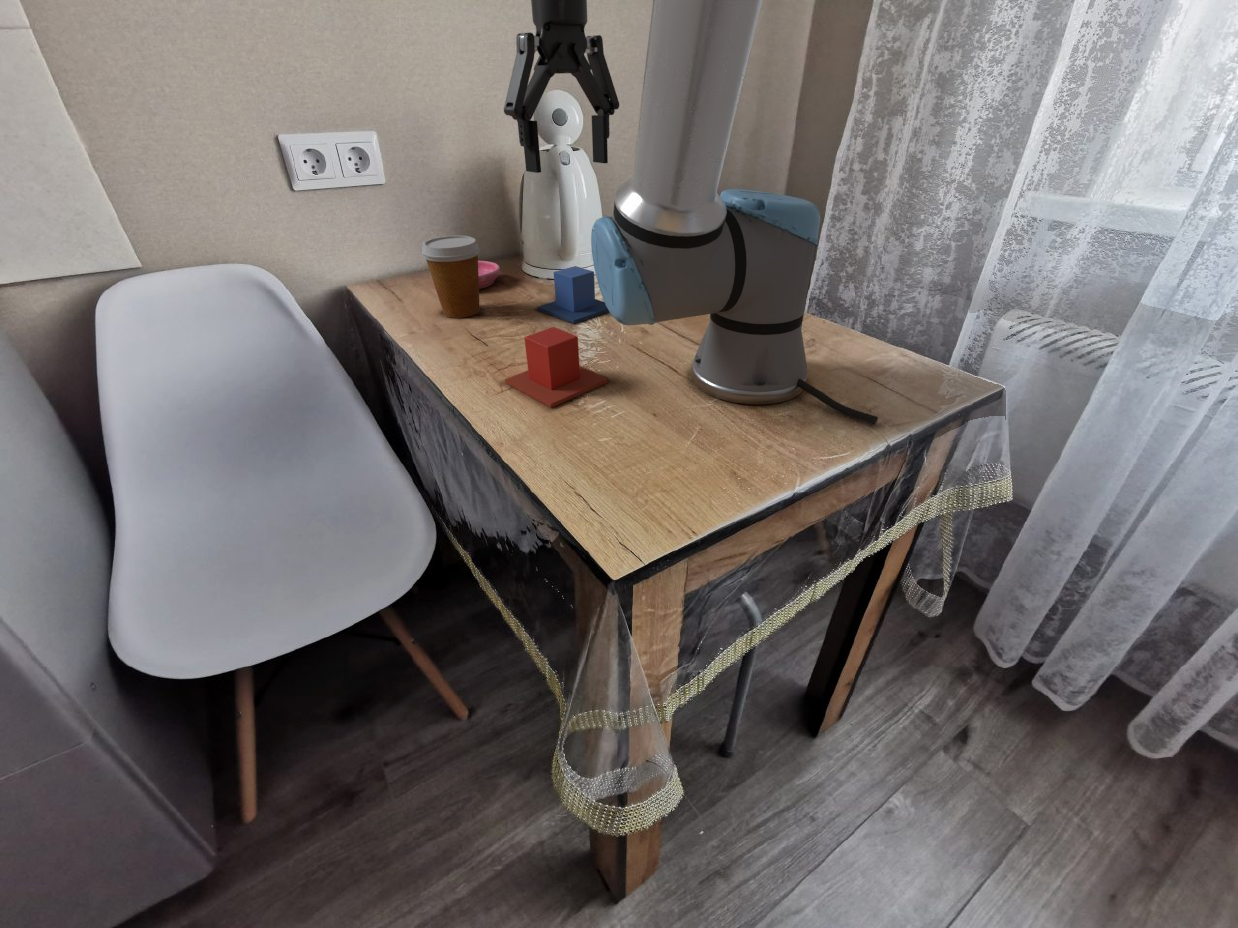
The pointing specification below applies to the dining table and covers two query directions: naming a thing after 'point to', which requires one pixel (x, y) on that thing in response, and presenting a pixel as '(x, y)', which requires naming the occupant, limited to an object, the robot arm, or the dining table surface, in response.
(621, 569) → the dining table surface
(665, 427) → the dining table surface
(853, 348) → the dining table surface
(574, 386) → the red mat
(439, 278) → the disposable coffee cup
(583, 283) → the blue block
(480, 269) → the pink bowl
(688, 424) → the dining table surface
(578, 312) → the blue mat
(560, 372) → the red block
